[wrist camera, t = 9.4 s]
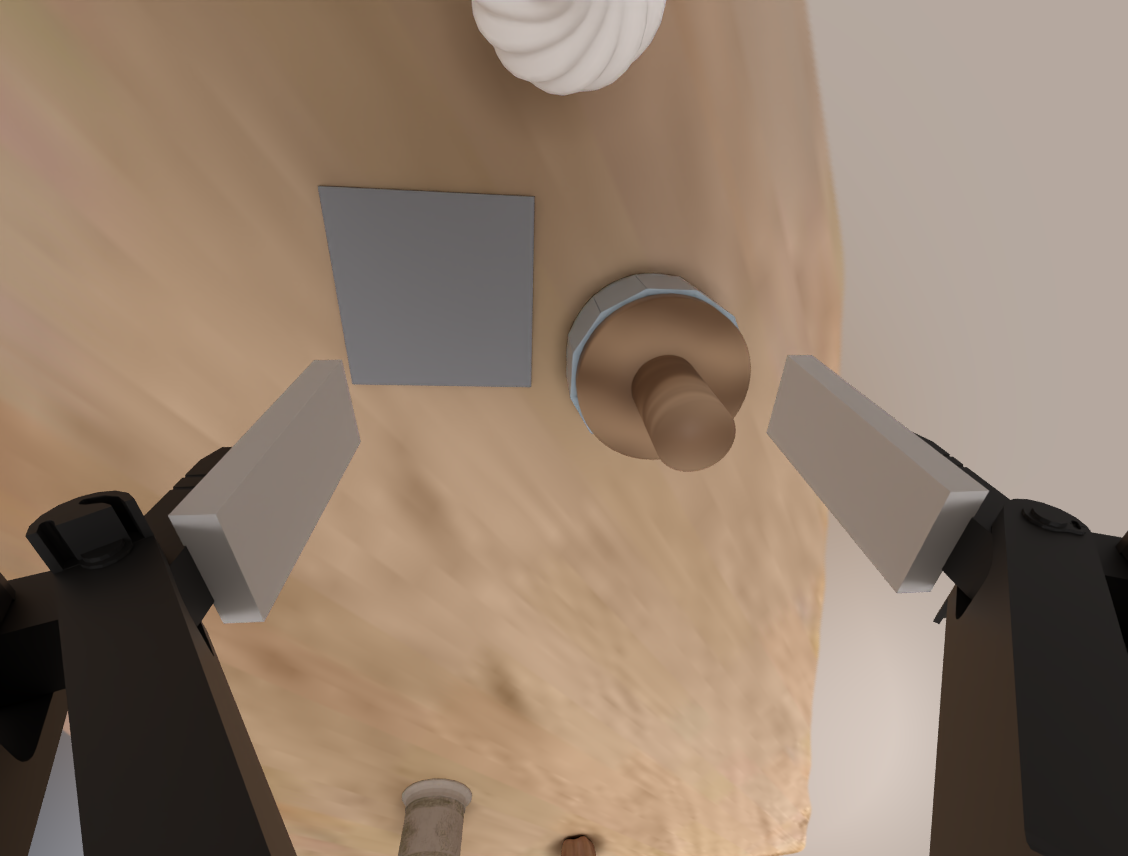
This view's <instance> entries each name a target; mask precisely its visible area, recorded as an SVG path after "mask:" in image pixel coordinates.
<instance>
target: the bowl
mask: <svg viewBox="0 0 1128 856" xmlns="http://www.w3.org/2000/svg"><path fill="white" fill-rule="evenodd" d="M668 293H674V294H684V295H688V296H692V297H696V298H698V299H700V300H703V301H705V302H707V303H709V304H710V305H712V306H714V307H715V308H716V309H717V310H719V311H720V312H721V313H722V314H724V315H725V316H726V317H727V318H728V319H730V320H731V321H732V322H733V324H734V325H735V326H736V327H737V328H738V326H737V323H736V320H735V317H734V316H733V315H732V314H730V313H729V312H728V311H727V310H725V309H724V308H723V307H721V306H720V305H719V304H718V303H716V302H715V301H714V300H712V299H711V298H710V297H708V296H707V295H705V294H704V293H703V292H701V291H700V290H698V289H697V288H696V287H694V286H693V285H691V284H690V283H688V282H687V281H686V280H684V279H683V278H681V277H680V276H671V275H667V274H659V273H643V274H637V275H632V276H628V277H625V278H622V279H620V280H617V281H615V282H613V283H611V284H609V285H608V286H606V287H605V288H603V289H602V290H600V291H599V292H598V293H597V294H595V295H594V296H593V297H592V298H591V299H590V300H589V301H588V302H587V303H586V304H585V306H584V307H583V308H582V310H581V311H580V312H579V314H578V316H577V317H576V319H575V321H574V323H573V325H572V328H571V330H570V332H569V333H568V341H567V349H566V361H567V364H566V377H567V383H568V388H569V393H570V398H571V400H572V402H573V403H574V405H575V407H576V409H577V410H578V412H579V414H580V416H581V417H582V419H583V421H584V423H585V424H586V422H585V420H584V418H583V416H582V413H581V410H580V406H579V402H578V397H577V391H576V371H577V365H578V361H579V358H580V355H581V352H582V350H583V348H584V345H585V344H586V342H587V340H588V338H589V337H590V335H591V334H592V333H593V331H594V330H595V329H596V328H597V326H598V325H599V324H600V323H601V322H602V321H603V320H604V319H605V318H606V317H608V316H609V315H610V314H611V313H613V312H614V311H615V310H617V309H619V308H620V307H622V306H624V305H625V304H627V303H630V302H632V301H634V300H636V299H639V298H643V297H646V296H650V295H656V294H668ZM738 330H739V329H738ZM586 426H587V424H586ZM587 428H588V430H589V431H590V433H592V432H591V430H590V429H589V427H588V426H587ZM592 434H593V433H592Z"/></svg>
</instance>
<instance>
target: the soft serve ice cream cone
mask: <svg viewBox="0 0 1128 856" xmlns="http://www.w3.org/2000/svg"><path fill="white" fill-rule="evenodd" d="M665 3H666V0H472V10H473V16H474V19H475V21H476V24H477V26H478V29H479V31H480V32H481V33H482V35H483V36H484V37H485V38H486V39H487V40H488V42H489V43H490V44H492V45H493V46H494V49H495V52H496V54H497V56H498V58H499V59H500V61H501V62H502V64H503V66H504V67H505V68H506V69H507V70H508V71H510V72H511V73H512V74H513V75H514V76H515V77H517V78H520V79H523V80H526V81H529V82H531V83H532V84H533V85H535V86H536V87H538V88H539V89H541V90H543V91H545V92H547V93H549V94H555V95H562V96H564V95H569V94H573V93H577V92H580V91H582V92H584V91H594V90H599V89H601V88H603V87H605V86H608V85H610V84H612V83H613V82H614V81H616V80H617V79H618V78H619V77H620V76H621V75H622V74H623V73H625V72H626V71H627V69H628V68H629V66H630V65H631V63H632V62H634V61H635V60H636V59H638V58H639V56H640V55H641V54H642V53H643V52H644V51H645V49H646V48H647V47H648V46H649V45H650V43H651V42H652V40H653V38H654V36H655V34H656V32H657V30H658V28H659V26H660V24H661V20H662V16H663V12H664V8H665Z"/></svg>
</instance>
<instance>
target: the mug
mask: <svg viewBox="0 0 1128 856" xmlns="http://www.w3.org/2000/svg"><path fill="white" fill-rule="evenodd" d="M471 798H472V793H471V791H470V789H469V788H468V787H467V786H465V785H464V784H462V783H460V782H457V781H454V780H449V779H428V780H422V781H419V782H416V783H413V784H412V785H410V786H409V787H407V788H406V789H405V791H404V792H403V793H402V801H403V803H404V805H405V806H406V808H405V813H406V814H405V820H404V825H403V831H402V836H401V842H400V848H399V853H398V856H460V851H461V840H462V829H463V818H464V813H465V808H466V806H467V805H468V804H469V803H470V802H471Z"/></svg>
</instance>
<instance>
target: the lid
mask: <svg viewBox="0 0 1128 856" xmlns="http://www.w3.org/2000/svg"><path fill="white" fill-rule="evenodd" d="M750 373H751V364H750V356H749V352H748V348H747V345H746V343H745V340H744V338H743V336H742V334H741V333H740V331H739V330H738V328H737V327H736V326H735V325H734V324H733V322H732V321H731V320H730V319H728V318H727V317H726V316H725V315H724V314H722V313H721V312H720V311H719V310H717V309H716V308H715V307H714V306H712V305H710V304H709V303H707V302H705V301H703V300H700V299H698V298H696V297H692V296H688V295H684V294H674V293H668V294H656V295H650V296H646V297H643V298H639V299H636V300H634V301H632V302H630V303H627V304H625V305H624V306H622V307H620V308H619V309H617V310H615V311H614V312H613V313H611V314H610V315H609V316H608V317H606V318H605V319H604V320H603V321H602V322H601V323H600V324H599V325H598V326H597V328H596V329H595V330H594V331H593V333H592V334H591V335H590V337H589V338H588V340H587V342H586V344H585V345H584V348H583V350H582V352H581V355H580V358H579V361H578V365H577V371H576V391H577V397H578V402H579V406H580V410H581V413H582V416H583V418H584V420H585V422H586V424H587V426H588V427H589V429H590V430H591V432H592V433H593V434H594V435H595V436H596V437H597V438H598V439H599V440H600V441H601V442H602V443H604V444H605V445H606V446H608V447H609V448H611V449H612V450H614V451H616V452H619V453H621V454H623V455H626V456H630V457H633V458H639V459H649V460H656V459H661V461H662V462H663V463H664V464H666V465H667V466H668V467H670V468H672V469H675V470H678V471H683V472H693V471H699V470H703V469H705V468H708V467H710V466H712V465H714V464H715V463H717V462H718V461H720V460H721V459H722V458H723V457H724V456H725V455H726V454H727V452H728V451H729V450H730V448H731V446H732V444H733V442H734V439H735V431H736V429H735V423H734V420H733V418H734V417H735V416H736V414H737V412H738V411H739V409H740V408H741V406H742V403H743V401H744V399H745V397H746V394H747V390H748V387H749V382H750Z"/></svg>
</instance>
